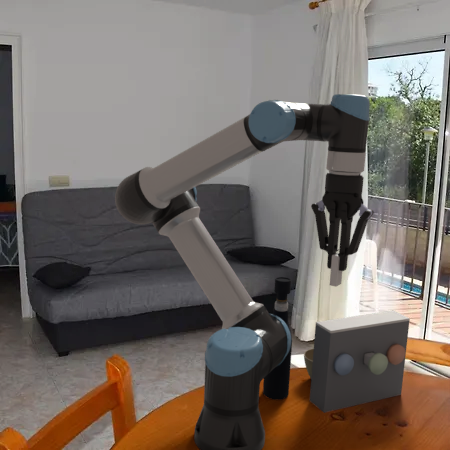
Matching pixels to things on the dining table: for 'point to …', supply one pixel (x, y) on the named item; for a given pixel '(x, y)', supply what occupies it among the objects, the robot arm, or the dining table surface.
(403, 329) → the control panel
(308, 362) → the flower pot
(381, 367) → the sage button
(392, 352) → the terracotta button
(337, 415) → the dining table surface
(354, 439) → the dining table surface
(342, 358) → the slate button
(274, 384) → the wine bottle
